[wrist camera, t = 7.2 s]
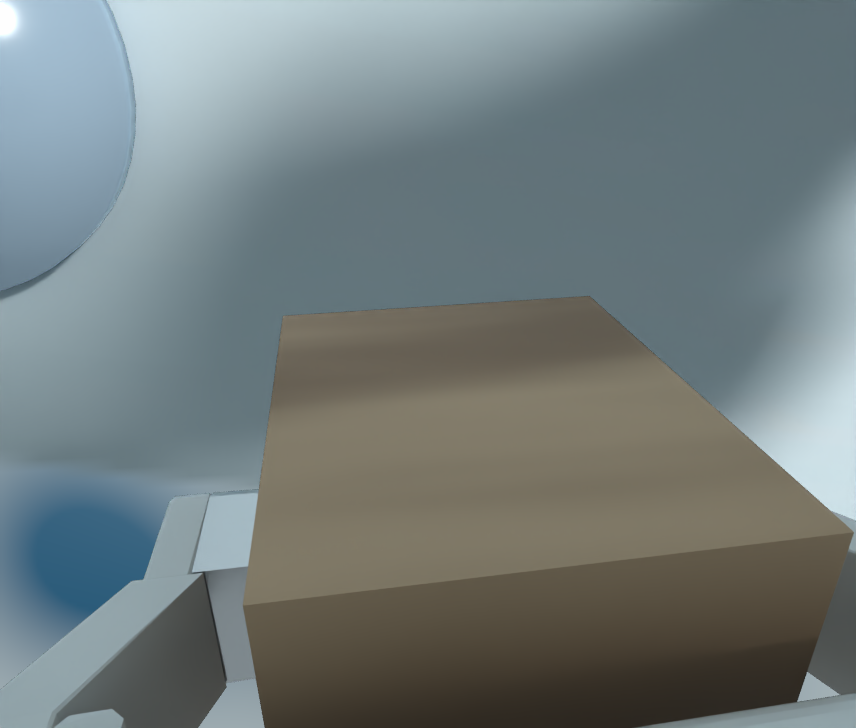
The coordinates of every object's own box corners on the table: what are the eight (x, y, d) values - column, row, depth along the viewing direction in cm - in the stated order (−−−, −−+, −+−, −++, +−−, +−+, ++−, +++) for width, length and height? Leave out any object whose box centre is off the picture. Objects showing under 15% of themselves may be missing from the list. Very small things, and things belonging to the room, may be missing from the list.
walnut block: (283, 315, 10) (242, 606, 5) (589, 296, 11) (853, 532, 5) (311, 562, 12) (305, 953, 7) (565, 534, 13) (739, 872, 8)
